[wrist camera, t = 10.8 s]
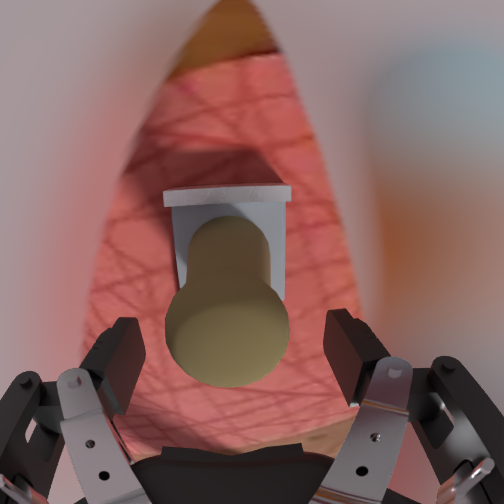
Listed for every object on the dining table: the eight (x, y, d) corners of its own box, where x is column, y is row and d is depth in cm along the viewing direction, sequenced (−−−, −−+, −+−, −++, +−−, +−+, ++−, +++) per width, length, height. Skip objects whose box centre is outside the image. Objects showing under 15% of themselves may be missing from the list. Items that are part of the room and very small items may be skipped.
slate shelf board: (282, 296, 22) (284, 300, 21) (183, 301, 21) (182, 304, 21) (284, 196, 19) (285, 197, 19) (172, 201, 19) (170, 202, 18)
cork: (240, 307, 21) (248, 421, 11) (173, 267, 20) (124, 367, 9) (287, 245, 20) (340, 333, 9) (216, 198, 18) (195, 246, 8)
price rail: (284, 196, 19) (291, 201, 17) (172, 201, 19) (164, 207, 17) (284, 182, 19) (291, 185, 17) (171, 187, 19) (163, 191, 16)
